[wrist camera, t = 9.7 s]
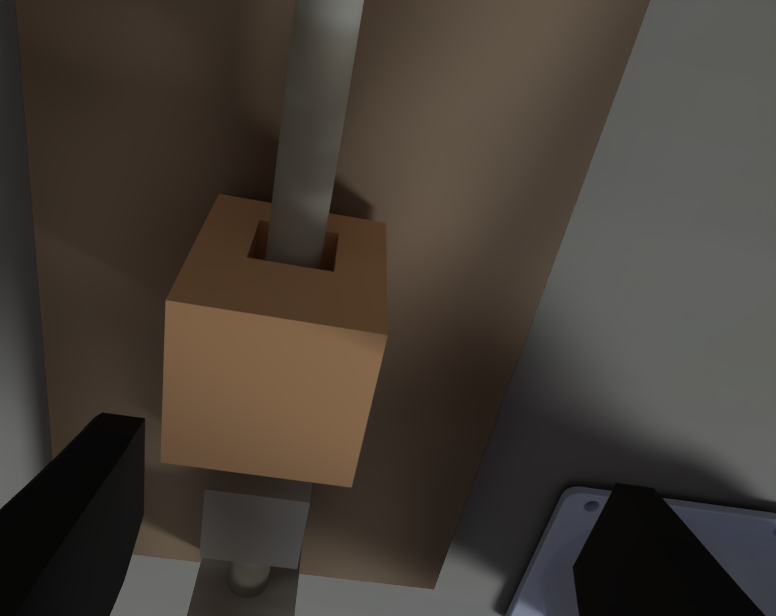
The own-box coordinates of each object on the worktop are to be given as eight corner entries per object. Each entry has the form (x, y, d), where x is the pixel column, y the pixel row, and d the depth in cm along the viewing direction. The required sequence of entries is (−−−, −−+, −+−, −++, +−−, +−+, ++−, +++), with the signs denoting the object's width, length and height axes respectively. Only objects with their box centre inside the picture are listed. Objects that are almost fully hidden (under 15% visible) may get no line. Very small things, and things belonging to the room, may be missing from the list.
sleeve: (385, 223, 17) (388, 335, 13) (357, 354, 19) (351, 487, 15) (218, 193, 16) (165, 300, 12) (209, 332, 18) (160, 462, 14)
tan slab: (819, -539, 11) (1098, -802, 7) (431, 561, 26) (442, 702, 21) (-12, -808, 10) (-328, -1361, 5) (72, 517, 24) (5, 659, 20)
